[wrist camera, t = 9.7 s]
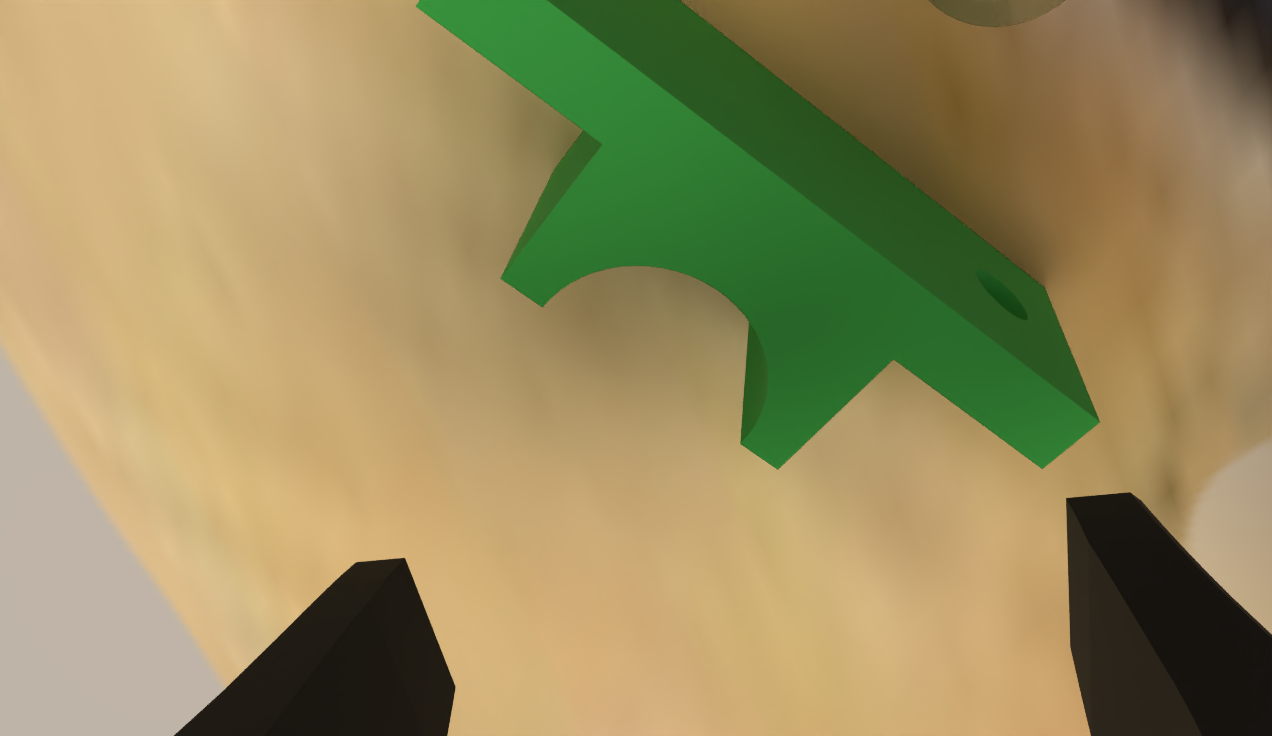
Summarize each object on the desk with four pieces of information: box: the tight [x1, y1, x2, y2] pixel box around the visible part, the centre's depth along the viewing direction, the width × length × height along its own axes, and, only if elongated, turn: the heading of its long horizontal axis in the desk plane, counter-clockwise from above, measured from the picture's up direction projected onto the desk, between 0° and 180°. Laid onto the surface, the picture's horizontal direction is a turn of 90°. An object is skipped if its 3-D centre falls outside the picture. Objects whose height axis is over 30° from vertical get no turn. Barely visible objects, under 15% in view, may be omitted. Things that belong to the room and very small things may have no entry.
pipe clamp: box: [416, 0, 1100, 469], centre depth 18 cm, size 11×4×5 cm, turn 54°
